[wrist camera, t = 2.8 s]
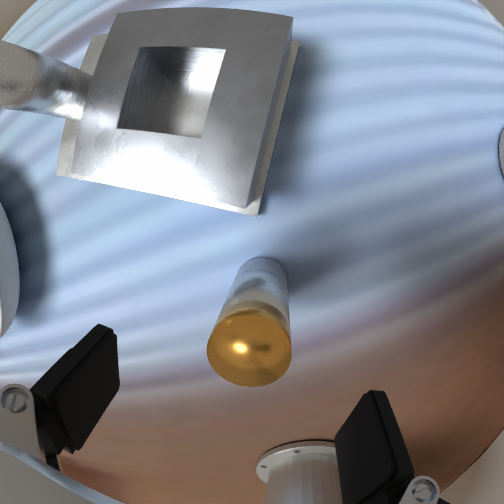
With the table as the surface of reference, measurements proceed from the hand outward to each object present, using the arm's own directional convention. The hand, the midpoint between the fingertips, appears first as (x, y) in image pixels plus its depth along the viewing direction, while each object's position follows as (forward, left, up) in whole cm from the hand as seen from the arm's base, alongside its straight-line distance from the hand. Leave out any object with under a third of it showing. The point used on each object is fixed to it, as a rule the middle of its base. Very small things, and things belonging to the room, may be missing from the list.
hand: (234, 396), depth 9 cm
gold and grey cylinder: (0, +1, -14) cm, 14 cm away
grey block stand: (+11, -11, -13) cm, 21 cm away
